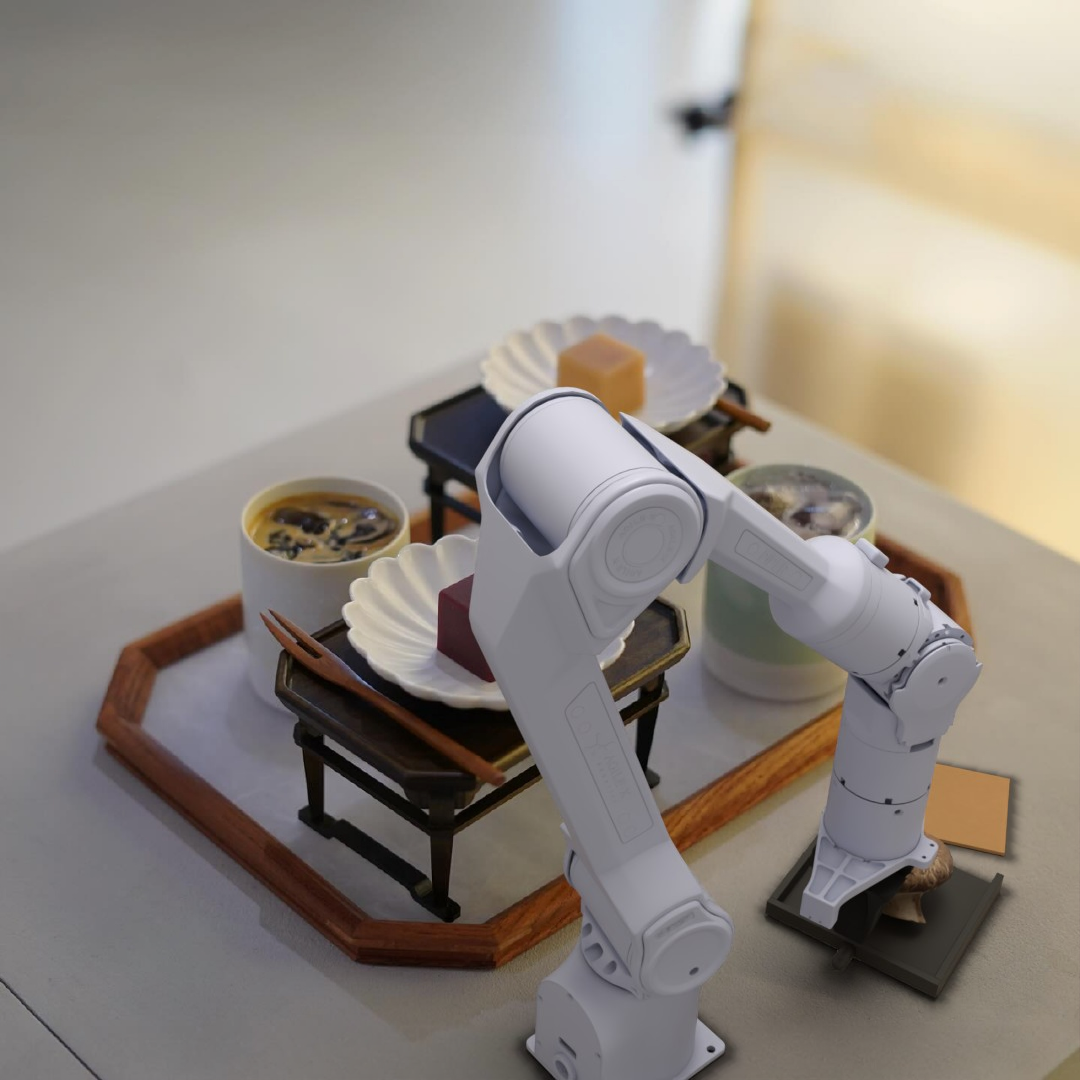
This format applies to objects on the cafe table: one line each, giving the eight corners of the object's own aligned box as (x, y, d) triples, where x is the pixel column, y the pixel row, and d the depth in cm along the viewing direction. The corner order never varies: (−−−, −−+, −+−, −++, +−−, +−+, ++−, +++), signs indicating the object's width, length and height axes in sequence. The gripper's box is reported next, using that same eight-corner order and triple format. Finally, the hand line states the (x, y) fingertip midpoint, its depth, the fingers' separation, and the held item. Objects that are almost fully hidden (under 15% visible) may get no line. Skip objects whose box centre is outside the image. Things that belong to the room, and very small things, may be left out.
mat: (1004, 856, 106) (1004, 853, 106) (888, 830, 108) (889, 827, 108) (1009, 781, 113) (1010, 778, 112) (900, 758, 114) (900, 755, 114)
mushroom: (958, 934, 95) (937, 836, 95) (833, 947, 98) (813, 852, 98) (969, 900, 103) (950, 809, 103) (853, 913, 106) (834, 825, 106)
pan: (838, 818, 109) (841, 802, 108) (1000, 891, 103) (1004, 875, 102) (749, 936, 100) (752, 919, 99) (921, 1023, 94) (925, 1006, 93)
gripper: (895, 874, 82) (861, 1037, 90) (992, 731, 92) (955, 889, 100) (778, 820, 85) (755, 982, 93) (885, 688, 95) (856, 844, 103)
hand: (851, 931), depth 97 cm, fingers closed
